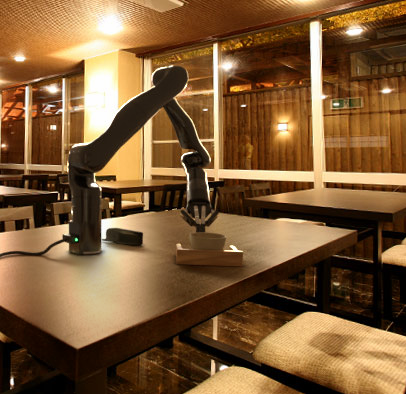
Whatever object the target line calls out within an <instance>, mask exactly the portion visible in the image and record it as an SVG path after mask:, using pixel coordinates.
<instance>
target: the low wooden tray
mask: <svg viewBox="0 0 406 394" xmlns="http://www.w3.org/2000/svg"><path fill="white" fill-rule="evenodd" d="M175 256H176V264H177V265H190V266H191V265H192V266H193V265H195V266H216V267H217V266H218V267H219V266H221V267H243V266H244V265H243V263H244V251H243V250H238V249H237V247H236V246H235V245H229V250H227V249H223V250H201V249H192V248H182V245H181V243H176V245H175Z"/></svg>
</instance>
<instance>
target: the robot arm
mask: <svg viewBox="0 0 406 394" xmlns="http://www.w3.org/2000/svg"><path fill="white" fill-rule="evenodd" d="M188 82H189V73H188V71H187V69H186V68H185V67H184V66H182V65H169V66H165V67H160V68H157V69H155V71H154V72H153V73H152V75H151V86H152V87H151V88H149V89H147V90H145V91H143V92H141V93H139V94H138V95H136V96H134V97H132V98H130V99H129V100H128V101H127V102H126V103H124V104H123V105H122V106H121V107H120V108H119V109H118V110H117V111H116V112H115V114H114V115H113V116H112V118H111V121H110V122H109V125H108V127H107V128H106V129H105V131H103V132H102V133H101V134H100V135H99V136H97V137H96V138H95V139H93V140H92V141H90V142H84V143H77V144H74V145H73V146H72V147H71V148H70V150H69V153H68V156H67V177H68V186H69V189H70V196H71V197H70V199H71V204H70V205H71V208H70V211H71V213H70V214H71V216H70V217H71V220H69V221H68V233H62V239H59V240H57V241H54V242H52V243H51V244H49V245H48V246H47V247H46V248H45V249H44V250H42V251H37V252H33V251H32V252H30V251H25V250H23V251H22V250H10V251H5V252H1V253H0V258H1V257H5V256H11V255H22V256H42V255H43V256H44V255H45V254H47V253H48V252H49V251H50V250H51V249H52V248H54V247H56V246H58V245H59V244H63V243H66V244H68V252H70V253H73V254H76V255H78V256H83V255H96V254H100V253H102V251H103V248H102V195H103V194H102V187H101V186H100V185H99V183H98V182H97V181H96V177H95V175H96V174H98V173H100V172H102V171H103V169H105V167H106V166H107V165H108V163H109V162H110V161H111V160H112V159H113V157H114V156H115V155H116V154H117V153H118V152H119V150H120V149H121V148H122V147H123V146H124V145H125V144H126V143H127V142H129V141H130V140H131V139H132V138H133V137H134V136H135V135H136V134H137V133H138V132H139V131H141V130H142V128H144V126H145V125H147V123H148V122H150V120H151V119H153V117H155V116H156V115H157V114H158V112H160V111H161V109H163V110H164V112H165V114H166V115H167V118H168V119H169V121H170V123H171V125H172V128H173V130H174V134H175V136H176V139H177V142H178V144H179V147H180V149H182V150H192V151H190V152H186V153H184V154H182V156H181V157H180V165H181V168H182V169H183V171H184V174H185V178H186V194H185V195H186V207H185V209H181V210H180V214H179V216H180V218H182V220H183V221H184V222H185V223H186V224H187V225H188V226H189V227H194V228H195V233H199V232H206V227H208V228H209V227H211V225H212V224H213V223H214V222H215V221H216V220H217V219H218V217H219V213H220V211H219V210H214V209H213V206H212V205H211V199H210V189H209V184H208V177H207V172H206V170H205V169H206V168H208V167H209V166H210V164H211V157H210V154H209V152H208V151H207V149H206V147H204V146H203V144H202V142H201V141H200V139H199V136H198V133H197V130H196V127H195V124H194V122H193V120H192V119H191V118H190V116H189V115H188V114H187V112H186V111H185V110H184V109H183V108H182V106H181V105H180V104H179V103H178V101H177V98H176V97H178V96H179V95H180V94H181V93H182V92H183V91H184V90H185V89H186V87H187V85H188ZM208 217H209V218H208Z"/></svg>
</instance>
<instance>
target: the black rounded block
mask: <svg viewBox="0 0 406 394" xmlns="http://www.w3.org/2000/svg"><path fill="white" fill-rule="evenodd" d="M101 242H108V243H109V242H110V243H116V244H122V245H127V246H133V247H134V246H135V247H137V246H138V247H139V246H142V245H143V244H144V232H143V231H139V230H132V229H127V228H120V227H109V228H106V230H105V238H101Z"/></svg>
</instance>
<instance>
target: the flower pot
mask: <svg viewBox="0 0 406 394" xmlns="http://www.w3.org/2000/svg"><path fill="white" fill-rule="evenodd" d="M188 236H189V241H190V246H191V249H201V250H224V248H225V245H226V241H227V236H226V235H225V234H221V233H217V232H206V231H205V232H199V233H196V232H191V233H189V235H188Z"/></svg>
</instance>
